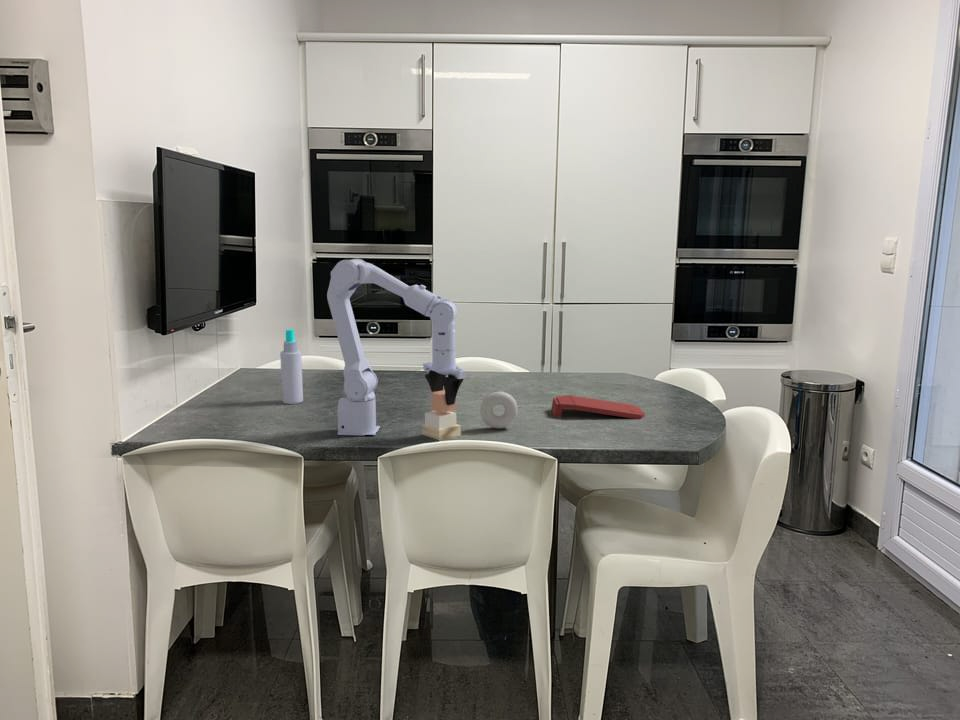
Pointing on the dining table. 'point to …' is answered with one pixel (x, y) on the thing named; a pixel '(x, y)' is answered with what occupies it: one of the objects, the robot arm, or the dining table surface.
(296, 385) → the spray bottle
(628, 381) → the dining table surface
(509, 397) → the donut
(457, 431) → the birch base block
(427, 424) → the cream top block
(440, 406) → the terracotta cube
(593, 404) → the red elongated bent piece
